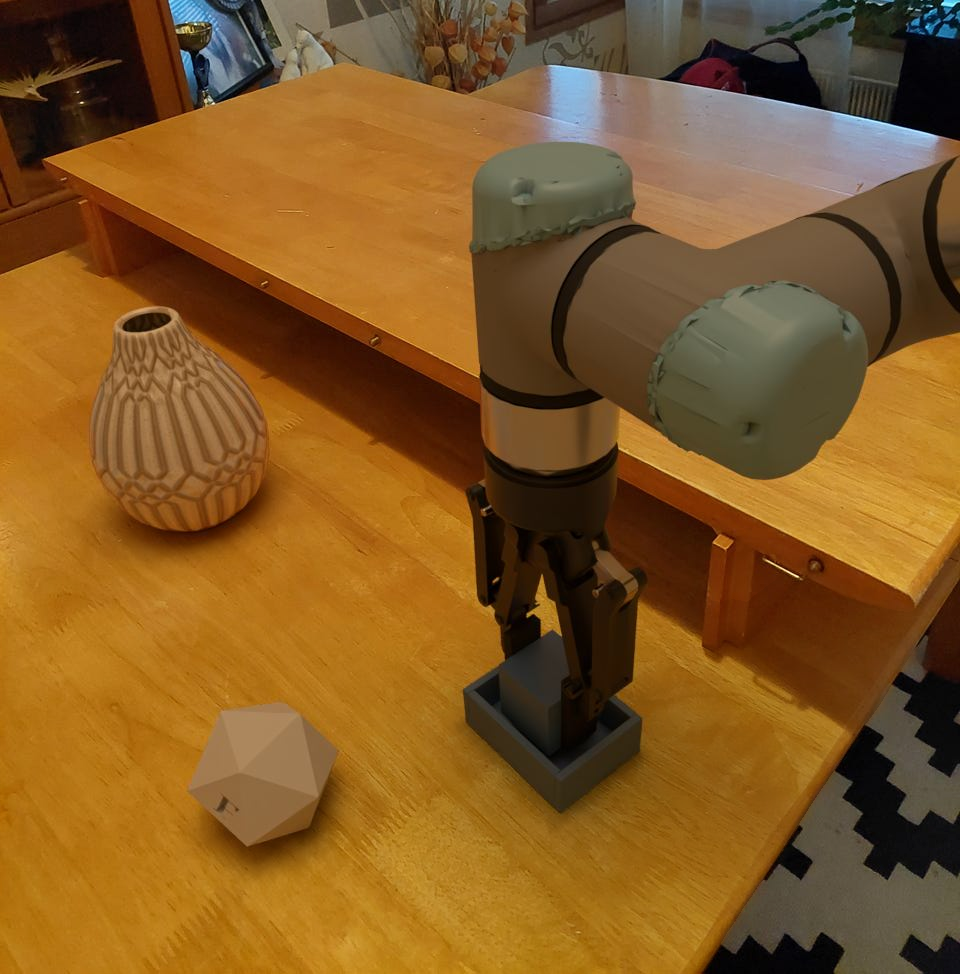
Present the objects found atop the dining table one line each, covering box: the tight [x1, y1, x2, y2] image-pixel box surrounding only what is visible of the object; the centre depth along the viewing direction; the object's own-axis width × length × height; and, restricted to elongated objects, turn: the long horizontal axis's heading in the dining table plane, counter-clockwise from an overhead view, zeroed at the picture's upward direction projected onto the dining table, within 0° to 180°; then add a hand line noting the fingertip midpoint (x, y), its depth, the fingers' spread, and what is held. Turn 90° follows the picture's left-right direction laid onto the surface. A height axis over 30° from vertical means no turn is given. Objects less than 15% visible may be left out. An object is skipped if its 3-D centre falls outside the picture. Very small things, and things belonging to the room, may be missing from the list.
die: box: [186, 701, 340, 847], centre depth 61 cm, size 8×9×10 cm
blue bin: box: [462, 665, 644, 814], centre depth 66 cm, size 10×8×4 cm
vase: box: [88, 305, 270, 533], centre depth 85 cm, size 16×16×20 cm
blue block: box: [498, 629, 601, 756], centre depth 64 cm, size 5×5×5 cm
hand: (550, 712), depth 65 cm, fingers closed on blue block, 5 cm apart
